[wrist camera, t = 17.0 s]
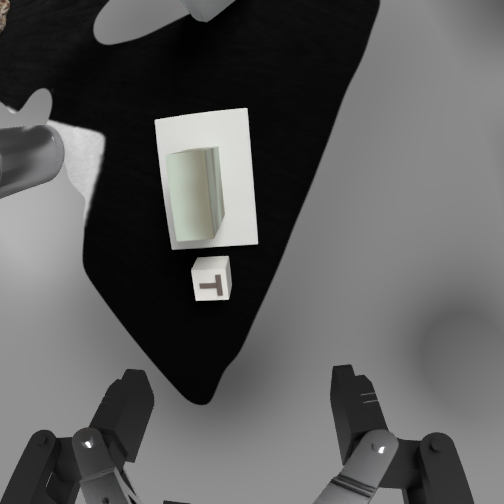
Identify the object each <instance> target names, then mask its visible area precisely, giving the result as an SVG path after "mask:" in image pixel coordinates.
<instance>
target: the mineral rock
mask: <svg viewBox="0 0 504 504" xmlns="http://www.w3.org/2000/svg"><path fill="white" fill-rule="evenodd" d="M9 9H10V2H9V1H8V0H0V36H1V33H2V31H3V30H4V28H5V25H6V14H7V12H8V10H9Z"/></svg>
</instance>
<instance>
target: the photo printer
mask: <svg viewBox="0 0 504 504" xmlns="http://www.w3.org/2000/svg"><path fill="white" fill-rule="evenodd" d="M181 1H182V3H183V4H184V5H185V7H186V8H187V10H188V11H189V12H190V14H191V15H192V16H193V18H195V19H196V20H198V21H205V22H208V21H209V20H211V19H213V18H214V17H215V16H216V15H218V14H219V13H220V12H221V11H223V10H224V9H225V8H226V7H228V6H229V5H230V4H231V3H232V2H234V1H235V0H181Z"/></svg>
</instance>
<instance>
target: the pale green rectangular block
mask: <svg viewBox="0 0 504 504" xmlns="http://www.w3.org/2000/svg"><path fill="white" fill-rule="evenodd" d="M165 159H166V168H167V176H168V184H169V192H170V200H171V207H172V214H173V221H174V228H175V235H176V241H189V240H204V239H214V238H215V235H216V233H217V231H218V229H219V226H220V224H221V222H222V220H223V218H224V215H225V210H224V200H223V189H222V179H221V168H220V157H219V146H214V147H204V148H195V149H187V150H183V151H180V152H176V153H172V154H168V155H165Z"/></svg>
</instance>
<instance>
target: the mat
mask: <svg viewBox="0 0 504 504" xmlns="http://www.w3.org/2000/svg"><path fill="white" fill-rule="evenodd" d="M155 127H156V137H157V146H158V155H159V164H160V172H161V180H162V187H163V194H164V201H165V208H166V215H167V222H168V228H169V234H170V240H171V246H172V250H176V249H191V248H206V247H221V246H237V245H252V244H258V234H257V222H256V209H255V196H254V184H253V171H252V159H251V147H250V135H249V123H248V111H247V108H242V109H231V110H222V111H213V112H204V113H197V114H189V115H182V116H176V117H170V118H164V119H158V120H155ZM214 146H219V157H220V168H221V179H222V189H223V200H224V210H225V215H224V218H223V220H222V222H221V224H220V226H219V229H218V231H217V233H216V235H215V238H214V239H204V240H189V241H176V235H175V228H174V221H173V214H172V207H171V200H170V192H169V184H168V176H167V168H166V159H165V155H168V154H172V153H176V152H180V151H183V150H187V149H195V148H204V147H214Z"/></svg>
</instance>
